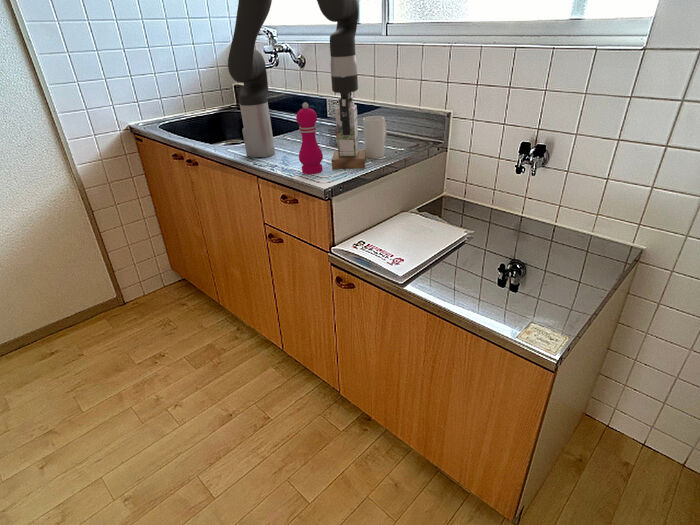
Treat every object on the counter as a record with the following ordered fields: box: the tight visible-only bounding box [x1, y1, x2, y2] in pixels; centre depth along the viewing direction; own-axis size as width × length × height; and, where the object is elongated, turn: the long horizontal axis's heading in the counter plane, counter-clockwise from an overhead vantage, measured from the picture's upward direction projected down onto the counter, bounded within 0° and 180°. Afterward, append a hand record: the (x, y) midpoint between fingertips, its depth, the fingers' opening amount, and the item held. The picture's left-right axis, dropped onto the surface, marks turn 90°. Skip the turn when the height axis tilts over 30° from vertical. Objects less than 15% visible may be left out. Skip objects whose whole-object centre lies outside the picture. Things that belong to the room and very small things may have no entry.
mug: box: [362, 115, 387, 160], centre depth 138 cm, size 10×7×12 cm, turn 141°
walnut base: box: [331, 149, 367, 171], centre depth 133 cm, size 10×10×3 cm
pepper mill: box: [296, 102, 324, 175], centre depth 125 cm, size 7×7×20 cm
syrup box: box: [334, 104, 360, 157], centre depth 129 cm, size 6×6×14 cm
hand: (347, 131), depth 129 cm, fingers open, 8 cm apart
